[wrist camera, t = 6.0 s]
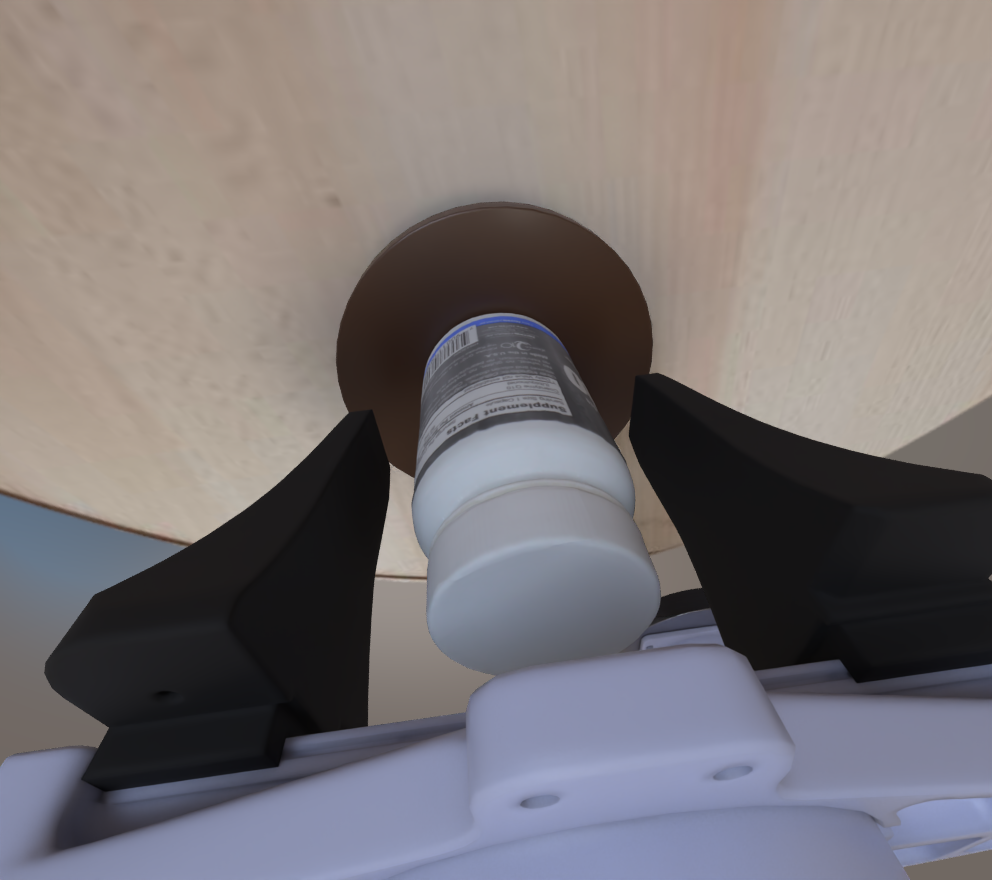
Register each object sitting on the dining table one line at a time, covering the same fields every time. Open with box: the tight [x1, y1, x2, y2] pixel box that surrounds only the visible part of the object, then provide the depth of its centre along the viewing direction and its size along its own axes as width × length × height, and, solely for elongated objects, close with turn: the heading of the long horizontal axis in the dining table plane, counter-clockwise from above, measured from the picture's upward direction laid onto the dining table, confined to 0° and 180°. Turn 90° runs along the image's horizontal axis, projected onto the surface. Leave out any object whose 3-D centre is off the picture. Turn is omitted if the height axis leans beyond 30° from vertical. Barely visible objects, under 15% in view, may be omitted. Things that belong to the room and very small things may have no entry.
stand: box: [336, 202, 653, 478], centre depth 15 cm, size 10×10×2 cm
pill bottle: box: [412, 313, 661, 676], centre depth 11 cm, size 5×5×8 cm
